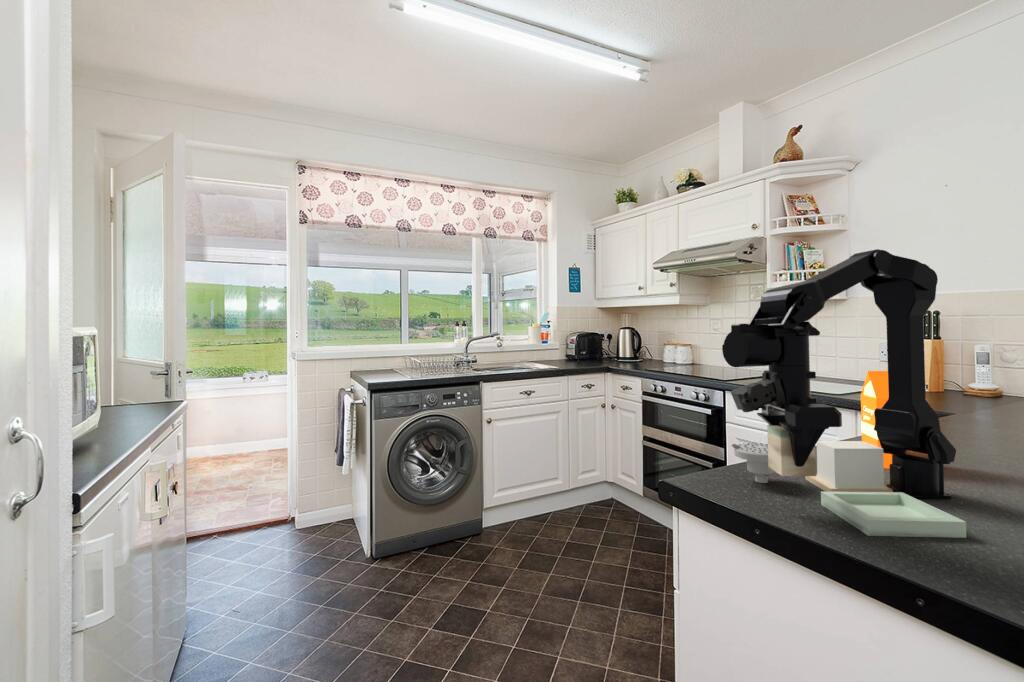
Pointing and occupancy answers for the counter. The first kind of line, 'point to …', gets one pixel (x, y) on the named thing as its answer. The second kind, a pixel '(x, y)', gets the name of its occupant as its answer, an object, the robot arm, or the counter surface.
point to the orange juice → (870, 400)
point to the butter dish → (849, 467)
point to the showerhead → (755, 459)
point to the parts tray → (892, 514)
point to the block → (786, 454)
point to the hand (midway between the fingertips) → (791, 461)
